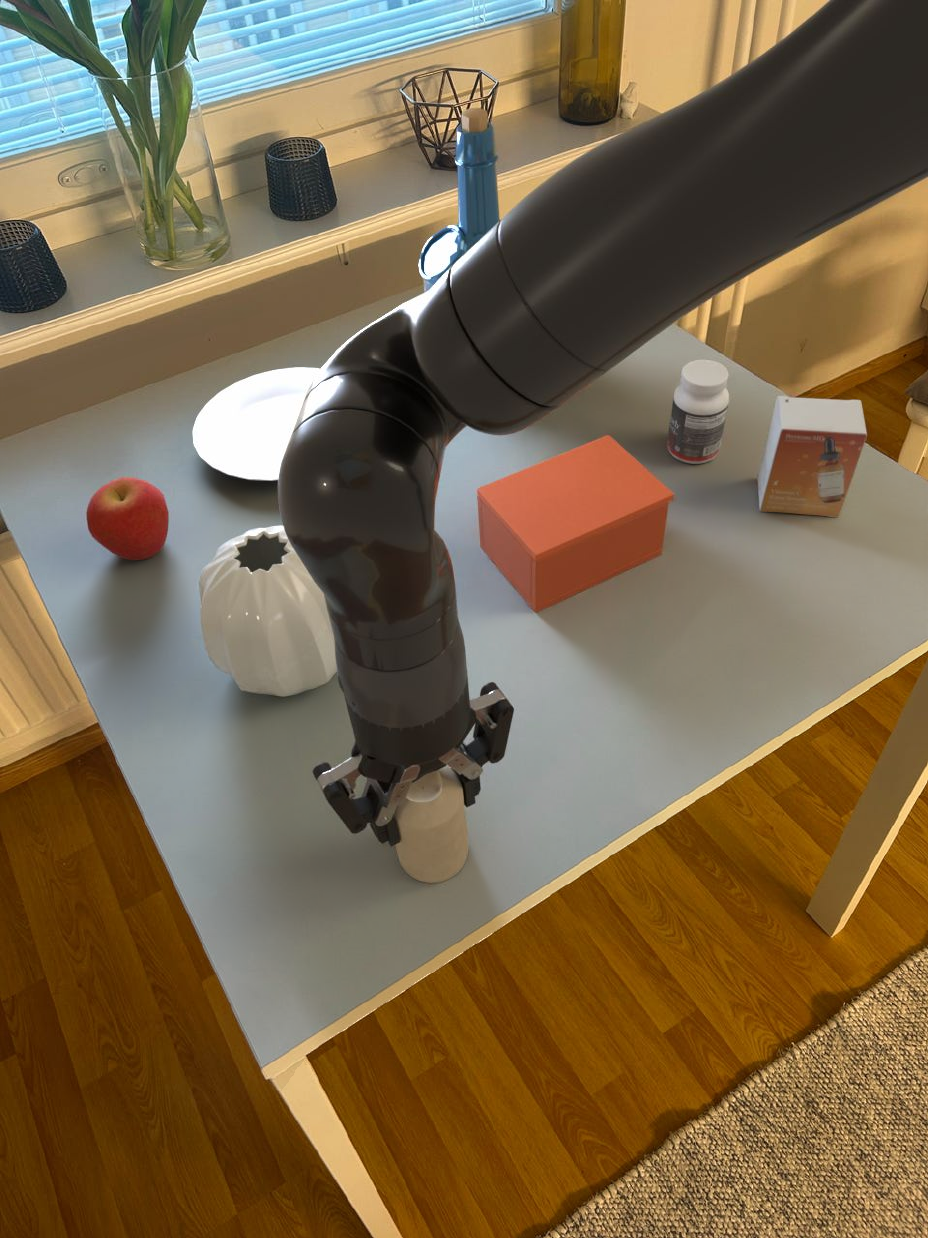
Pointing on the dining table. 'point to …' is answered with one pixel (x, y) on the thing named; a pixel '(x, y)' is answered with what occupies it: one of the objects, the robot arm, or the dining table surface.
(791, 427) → the small box
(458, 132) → the wine bottle
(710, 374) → the pill bottle
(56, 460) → the dining table surface
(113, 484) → the apple
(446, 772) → the candle
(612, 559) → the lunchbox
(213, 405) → the plate
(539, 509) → the lunchbox lid
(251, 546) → the vase
